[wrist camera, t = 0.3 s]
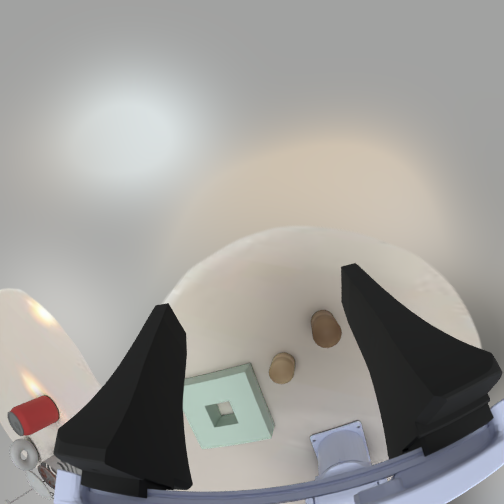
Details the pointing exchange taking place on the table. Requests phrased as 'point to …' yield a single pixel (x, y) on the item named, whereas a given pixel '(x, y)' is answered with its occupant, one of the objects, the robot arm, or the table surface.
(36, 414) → the beer can
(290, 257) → the table surface
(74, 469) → the french press
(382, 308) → the robot arm
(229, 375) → the collar block
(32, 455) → the donut
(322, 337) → the long pin
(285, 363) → the short pin
